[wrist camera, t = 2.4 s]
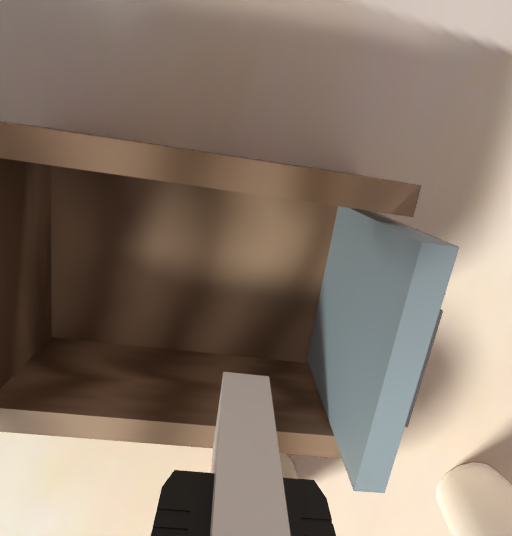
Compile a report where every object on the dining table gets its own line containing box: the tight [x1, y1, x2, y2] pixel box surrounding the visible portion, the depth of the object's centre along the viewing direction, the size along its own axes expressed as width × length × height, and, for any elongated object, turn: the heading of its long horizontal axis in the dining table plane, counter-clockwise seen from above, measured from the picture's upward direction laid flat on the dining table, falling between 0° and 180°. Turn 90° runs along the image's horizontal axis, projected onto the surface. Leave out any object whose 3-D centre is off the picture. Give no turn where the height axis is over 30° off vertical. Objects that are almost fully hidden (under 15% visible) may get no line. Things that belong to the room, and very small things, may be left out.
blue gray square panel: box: [307, 206, 459, 493], centre depth 22 cm, size 2×12×12 cm, turn 172°
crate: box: [0, 121, 421, 458], centre depth 24 cm, size 22×16×10 cm
